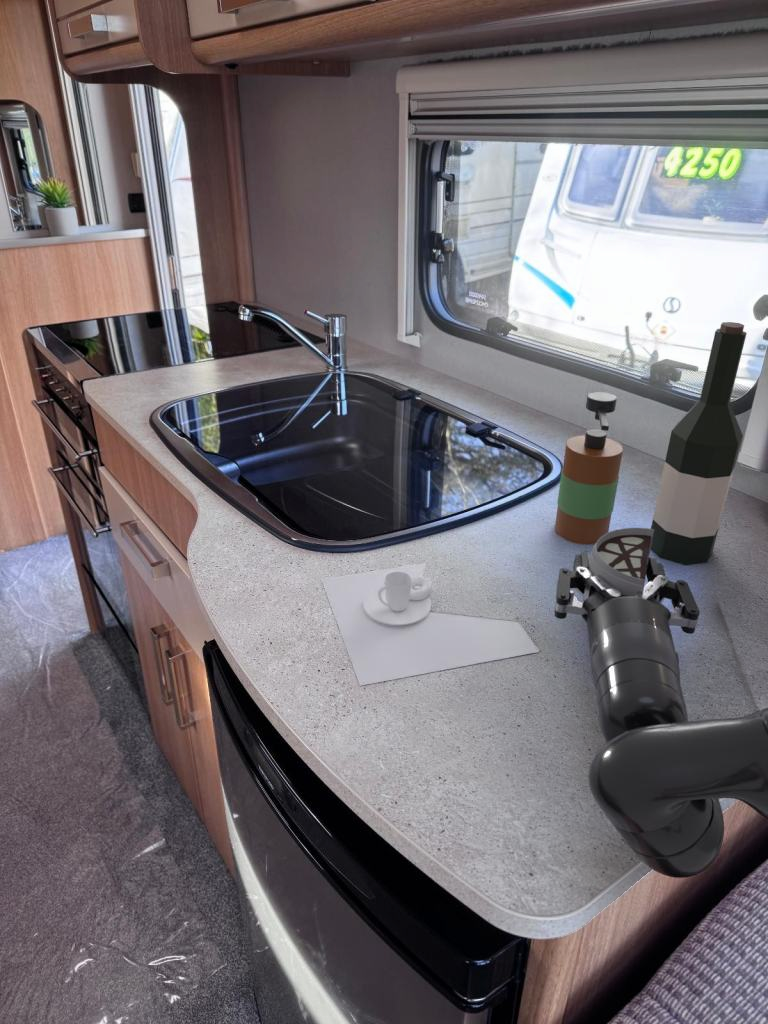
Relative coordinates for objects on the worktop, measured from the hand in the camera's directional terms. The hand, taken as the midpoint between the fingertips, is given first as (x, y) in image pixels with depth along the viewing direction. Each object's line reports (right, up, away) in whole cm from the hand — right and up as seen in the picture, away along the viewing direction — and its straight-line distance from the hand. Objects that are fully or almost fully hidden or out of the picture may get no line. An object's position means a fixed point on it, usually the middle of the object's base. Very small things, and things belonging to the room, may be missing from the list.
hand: (616, 561), depth 81 cm
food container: (-1, -7, +2) cm, 8 cm away
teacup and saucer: (-22, -6, +3) cm, 23 cm away
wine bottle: (+13, 0, +16) cm, 21 cm away
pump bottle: (+1, +3, +20) cm, 20 cm away
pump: (+1, +16, +9) cm, 19 cm away
